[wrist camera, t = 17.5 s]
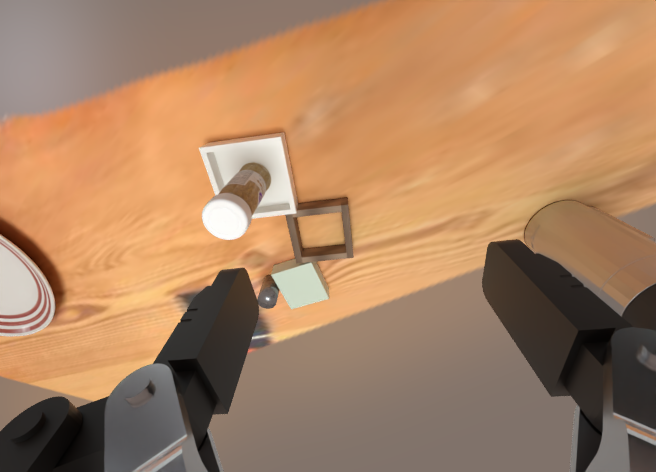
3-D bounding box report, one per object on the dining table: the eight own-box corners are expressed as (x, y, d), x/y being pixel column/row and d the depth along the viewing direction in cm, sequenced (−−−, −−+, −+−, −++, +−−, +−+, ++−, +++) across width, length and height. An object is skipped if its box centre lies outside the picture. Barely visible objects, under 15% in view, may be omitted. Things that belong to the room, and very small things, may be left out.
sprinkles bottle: (273, 192, 41) (251, 240, 29) (242, 193, 41) (207, 242, 29) (268, 160, 38) (242, 198, 27) (235, 162, 39) (194, 201, 27)
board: (312, 251, 47) (311, 262, 45) (329, 287, 51) (329, 298, 48) (274, 263, 48) (270, 274, 46) (293, 297, 52) (291, 309, 50)
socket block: (347, 197, 42) (348, 204, 40) (352, 248, 46) (353, 257, 44) (287, 204, 42) (284, 211, 40) (297, 254, 47) (296, 263, 45)
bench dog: (278, 273, 49) (273, 293, 45) (282, 287, 50) (278, 307, 46) (261, 275, 49) (255, 295, 45) (265, 288, 51) (259, 309, 46)
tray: (284, 132, 37) (280, 136, 35) (298, 204, 42) (296, 213, 40) (207, 142, 38) (198, 147, 35) (231, 212, 43) (224, 221, 41)
